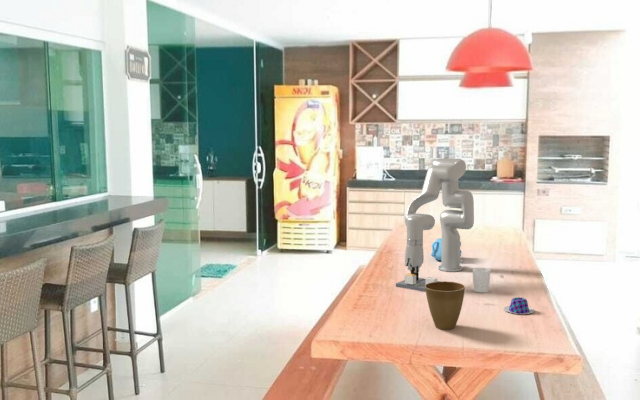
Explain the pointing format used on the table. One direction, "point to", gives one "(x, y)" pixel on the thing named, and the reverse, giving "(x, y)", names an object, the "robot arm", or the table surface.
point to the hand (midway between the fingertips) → (414, 280)
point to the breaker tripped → (410, 279)
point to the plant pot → (445, 303)
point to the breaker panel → (414, 285)
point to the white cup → (481, 279)
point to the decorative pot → (438, 249)
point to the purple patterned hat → (519, 306)
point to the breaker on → (430, 280)
